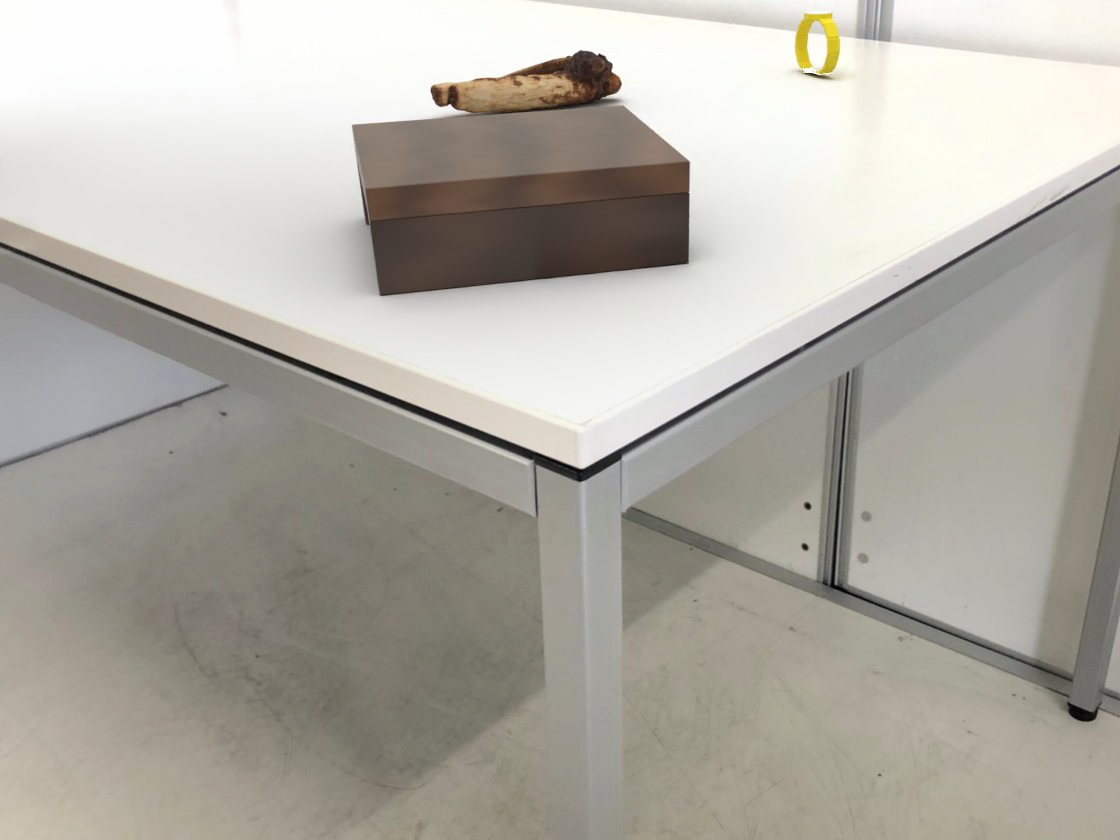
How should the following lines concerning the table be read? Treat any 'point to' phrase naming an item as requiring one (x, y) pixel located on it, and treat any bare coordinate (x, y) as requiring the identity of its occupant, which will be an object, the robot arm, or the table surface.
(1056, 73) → the table surface
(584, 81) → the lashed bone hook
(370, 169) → the wooden keepsake box
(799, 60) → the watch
